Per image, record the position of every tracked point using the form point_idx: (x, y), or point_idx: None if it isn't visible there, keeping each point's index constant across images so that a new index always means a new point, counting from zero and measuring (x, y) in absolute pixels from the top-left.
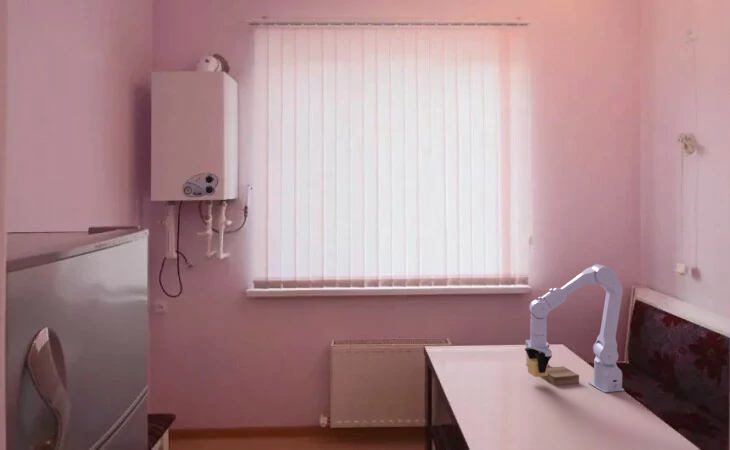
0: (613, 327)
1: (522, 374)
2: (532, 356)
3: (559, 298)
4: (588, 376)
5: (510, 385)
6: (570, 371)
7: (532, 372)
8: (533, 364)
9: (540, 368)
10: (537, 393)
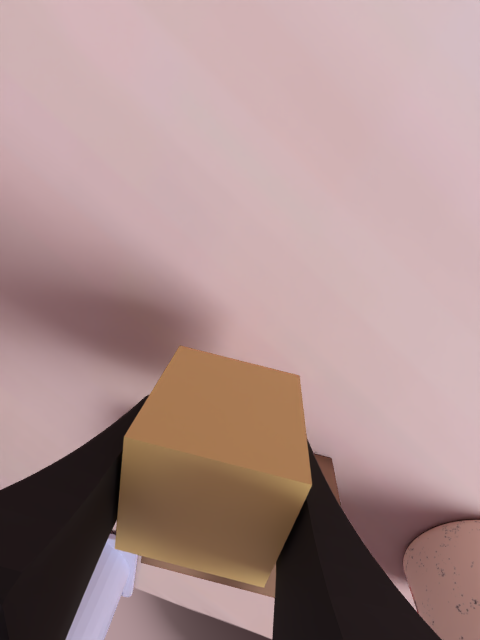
0: None
1: (424, 402)
2: (298, 558)
3: None
4: (208, 589)
5: (311, 157)
6: (204, 572)
7: (221, 369)
8: (182, 425)
9: (120, 425)
10: (94, 238)
